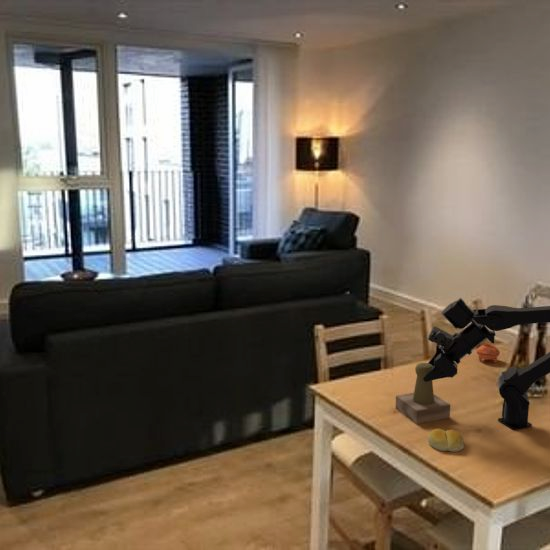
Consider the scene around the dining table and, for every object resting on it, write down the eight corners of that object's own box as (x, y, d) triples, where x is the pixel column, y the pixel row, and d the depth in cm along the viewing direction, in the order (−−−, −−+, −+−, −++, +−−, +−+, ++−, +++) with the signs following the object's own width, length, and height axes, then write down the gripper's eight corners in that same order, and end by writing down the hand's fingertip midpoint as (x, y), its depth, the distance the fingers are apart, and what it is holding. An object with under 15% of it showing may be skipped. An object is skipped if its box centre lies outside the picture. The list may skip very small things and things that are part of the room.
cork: (410, 396, 174) (412, 360, 172) (431, 396, 174) (433, 360, 172) (415, 404, 168) (416, 368, 166) (436, 404, 168) (438, 367, 166)
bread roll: (427, 436, 159) (428, 422, 158) (462, 440, 156) (463, 426, 156) (427, 450, 151) (427, 436, 150) (464, 455, 149) (465, 440, 148)
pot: (485, 365, 209) (483, 346, 209) (473, 363, 217) (471, 344, 217) (505, 362, 211) (503, 343, 211) (492, 360, 218) (490, 342, 219)
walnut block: (449, 417, 169) (450, 404, 168) (416, 424, 165) (417, 410, 164) (427, 402, 179) (427, 390, 178) (395, 408, 175) (395, 395, 174)
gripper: (447, 310, 173) (407, 344, 179) (445, 328, 156) (402, 365, 161) (474, 338, 173) (433, 371, 178) (476, 359, 155) (431, 395, 161)
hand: (424, 374), depth 170 cm, fingers open, 9 cm apart
